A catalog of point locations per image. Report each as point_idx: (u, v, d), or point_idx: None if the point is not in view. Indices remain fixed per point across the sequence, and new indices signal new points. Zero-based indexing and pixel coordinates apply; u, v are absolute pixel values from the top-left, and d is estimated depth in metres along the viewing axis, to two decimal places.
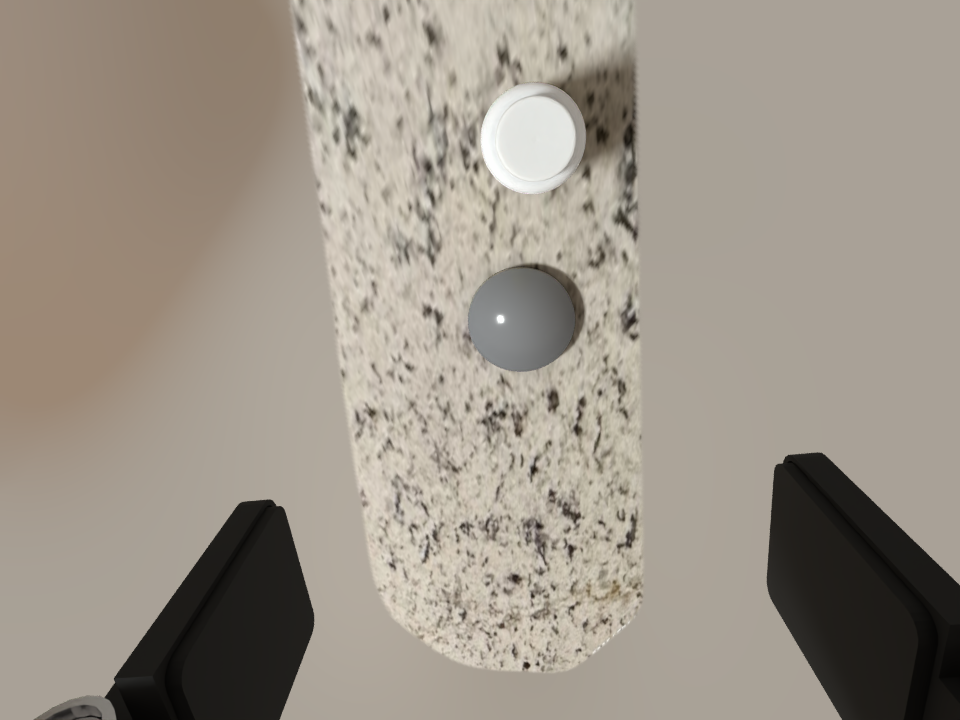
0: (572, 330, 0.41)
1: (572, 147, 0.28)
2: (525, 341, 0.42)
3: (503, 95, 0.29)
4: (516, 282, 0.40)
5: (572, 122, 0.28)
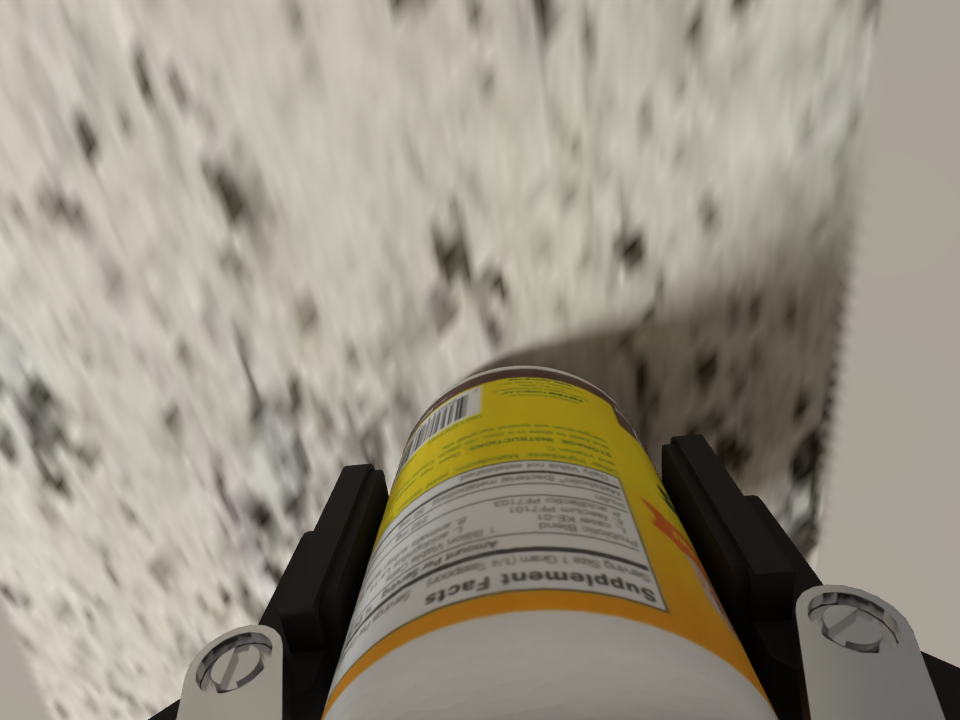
0: None
1: None
2: None
3: (392, 707, 0.05)
4: None
5: None
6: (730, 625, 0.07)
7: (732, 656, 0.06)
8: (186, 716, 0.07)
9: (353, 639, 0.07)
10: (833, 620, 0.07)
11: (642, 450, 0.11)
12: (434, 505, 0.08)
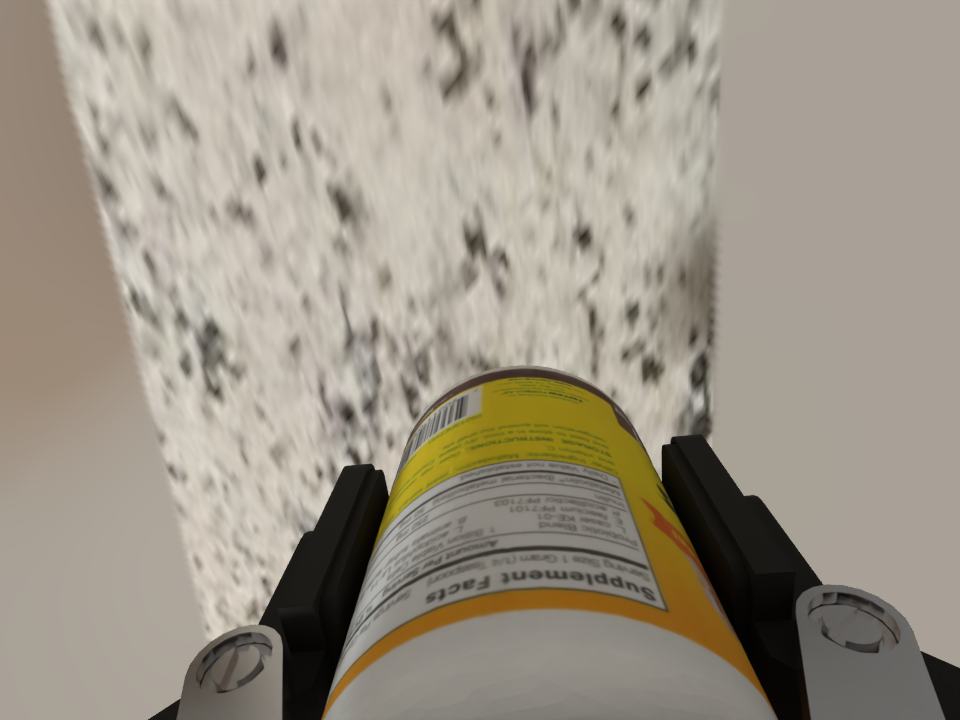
0: None
1: None
2: None
3: (393, 705, 0.06)
4: None
5: None
6: (729, 624, 0.07)
7: (731, 655, 0.06)
8: (186, 716, 0.07)
9: (354, 638, 0.07)
10: (833, 620, 0.07)
11: (642, 450, 0.11)
12: (434, 504, 0.08)
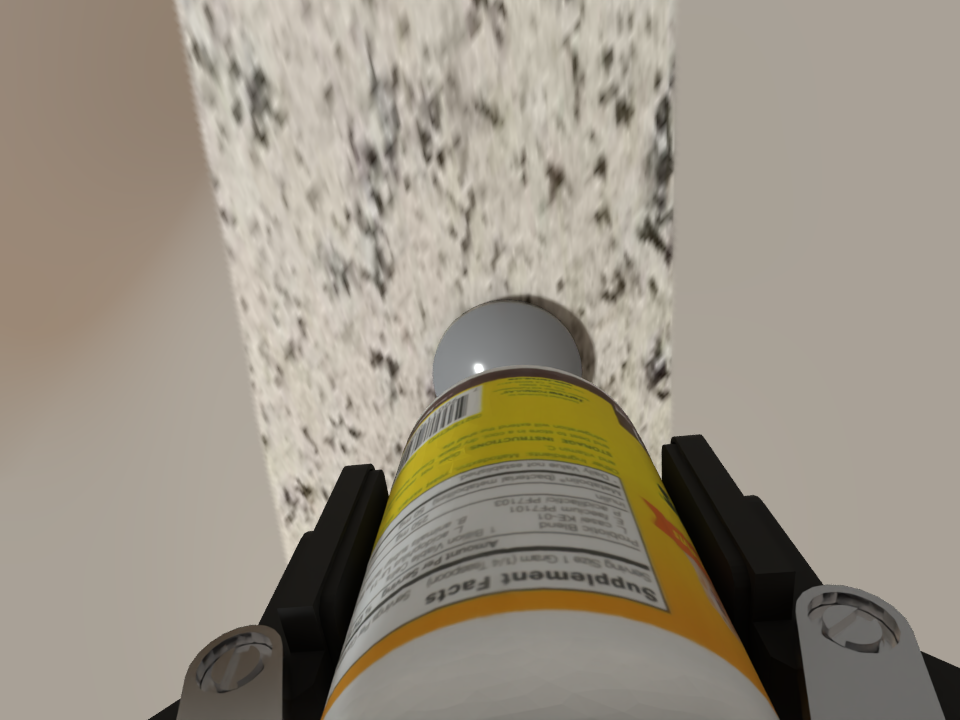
0: None
1: None
2: None
3: (392, 707, 0.05)
4: (499, 321, 0.28)
5: None
6: (731, 625, 0.07)
7: (733, 656, 0.06)
8: (186, 716, 0.07)
9: (353, 639, 0.07)
10: (833, 620, 0.07)
11: (643, 450, 0.11)
12: (434, 504, 0.08)
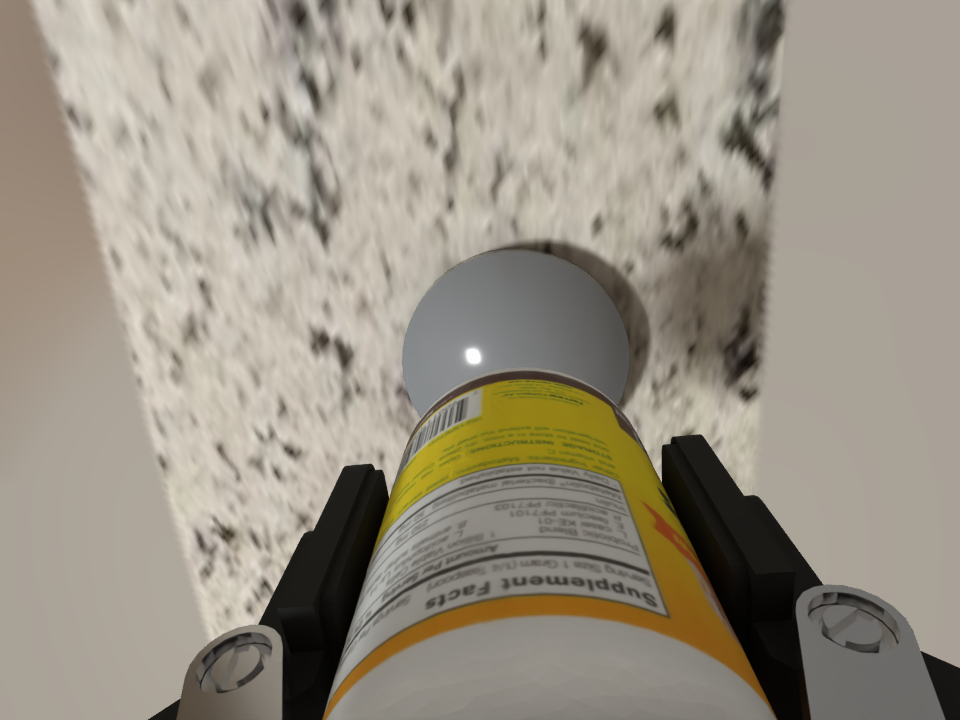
0: (623, 383, 0.19)
1: None
2: None
3: (392, 713, 0.05)
4: (503, 281, 0.18)
5: None
6: (731, 629, 0.07)
7: (733, 661, 0.06)
8: (186, 716, 0.07)
9: (353, 643, 0.07)
10: (833, 620, 0.07)
11: (643, 453, 0.11)
12: (434, 508, 0.08)
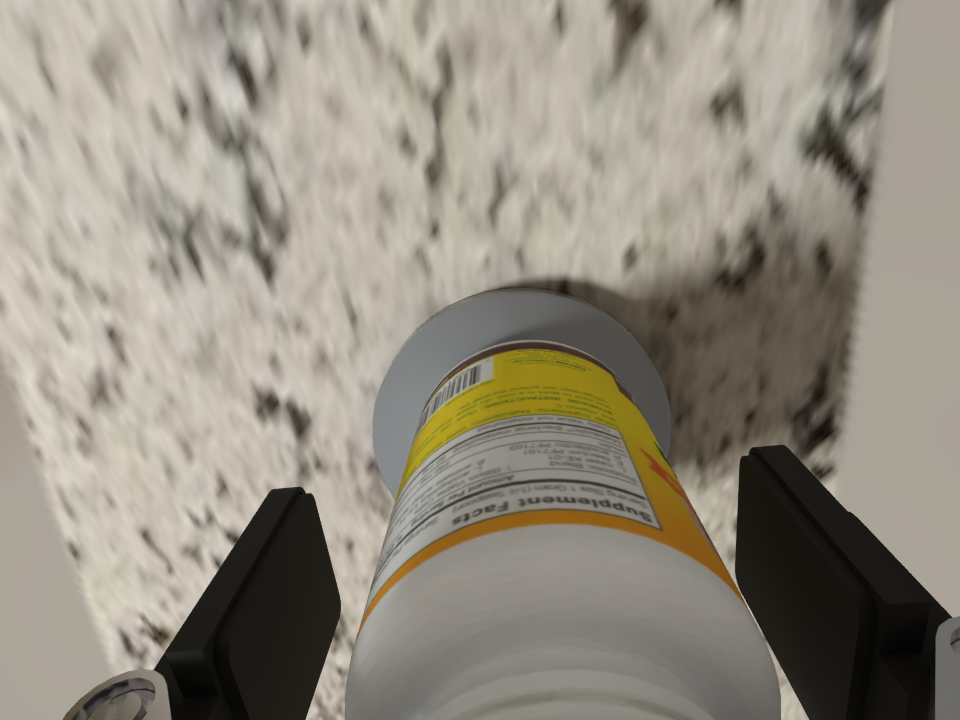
0: None
1: None
2: None
3: (428, 602, 0.06)
4: (506, 332, 0.14)
5: None
6: (716, 552, 0.08)
7: (717, 569, 0.07)
8: None
9: (386, 562, 0.08)
10: None
11: (640, 414, 0.12)
12: (454, 452, 0.09)
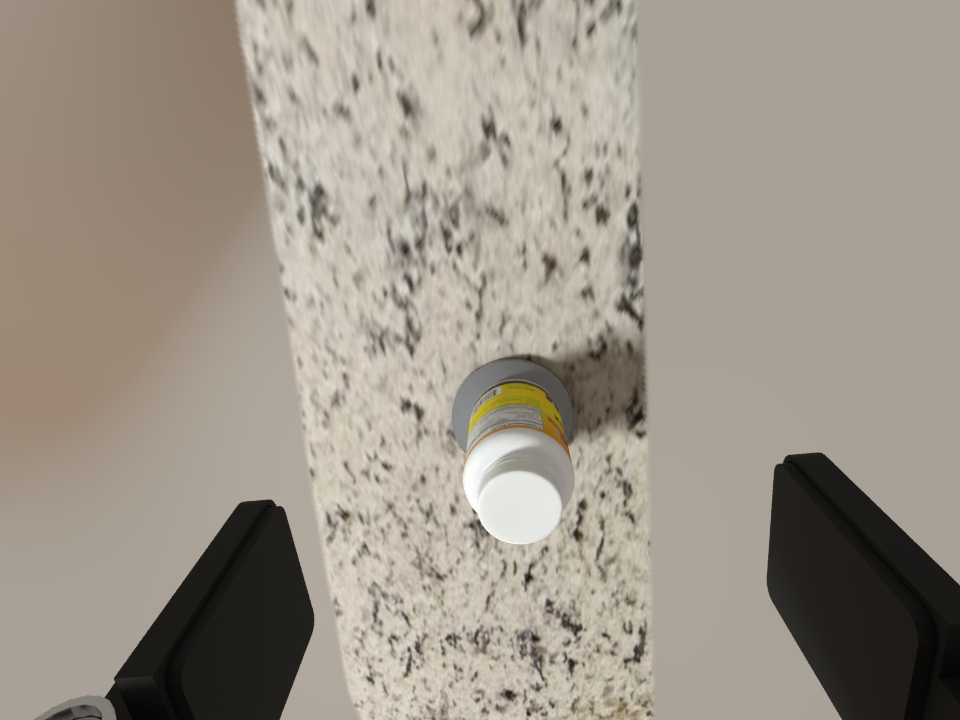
0: (570, 429, 0.36)
1: (558, 516, 0.26)
2: None
3: (486, 444, 0.28)
4: (506, 376, 0.35)
5: (558, 495, 0.26)
6: (563, 440, 0.29)
7: (558, 441, 0.29)
8: None
9: (472, 443, 0.29)
10: None
11: (553, 406, 0.33)
12: (490, 415, 0.31)
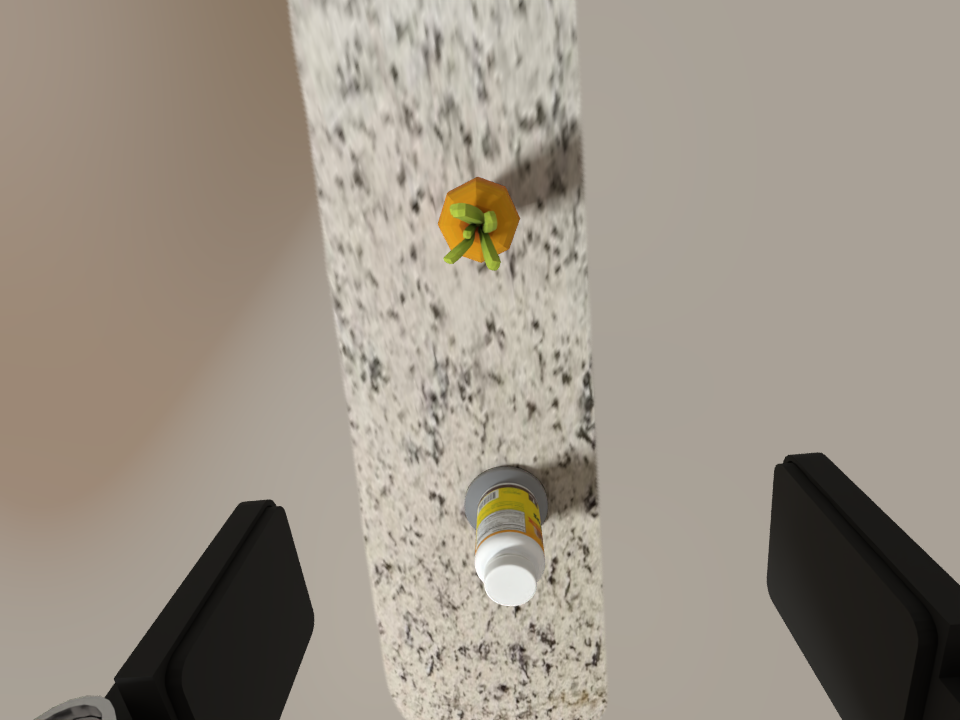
0: (546, 513, 0.53)
1: (534, 590, 0.43)
2: None
3: (489, 543, 0.44)
4: (501, 479, 0.52)
5: (534, 578, 0.43)
6: (538, 536, 0.46)
7: (534, 539, 0.45)
8: None
9: (480, 538, 0.46)
10: None
11: (533, 505, 0.50)
12: (491, 517, 0.47)
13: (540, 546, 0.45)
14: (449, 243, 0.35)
